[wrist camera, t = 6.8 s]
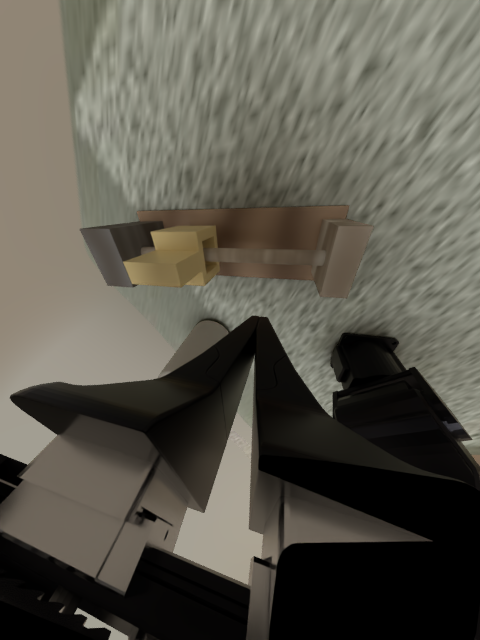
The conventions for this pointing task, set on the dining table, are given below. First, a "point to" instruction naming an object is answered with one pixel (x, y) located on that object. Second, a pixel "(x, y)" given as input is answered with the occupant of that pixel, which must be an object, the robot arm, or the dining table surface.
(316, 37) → the dining table surface
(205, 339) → the beverage can
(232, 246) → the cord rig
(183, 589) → the robot arm
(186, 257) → the marker sleeve
